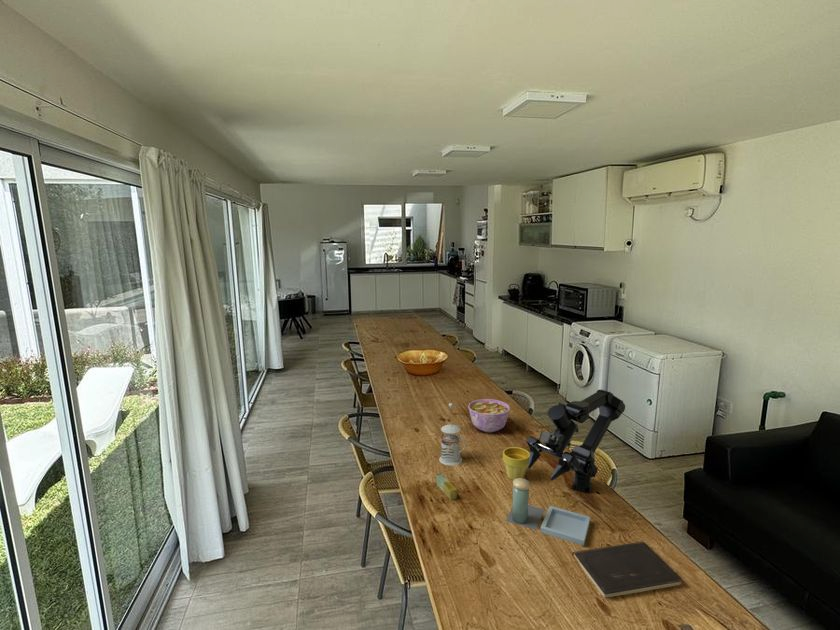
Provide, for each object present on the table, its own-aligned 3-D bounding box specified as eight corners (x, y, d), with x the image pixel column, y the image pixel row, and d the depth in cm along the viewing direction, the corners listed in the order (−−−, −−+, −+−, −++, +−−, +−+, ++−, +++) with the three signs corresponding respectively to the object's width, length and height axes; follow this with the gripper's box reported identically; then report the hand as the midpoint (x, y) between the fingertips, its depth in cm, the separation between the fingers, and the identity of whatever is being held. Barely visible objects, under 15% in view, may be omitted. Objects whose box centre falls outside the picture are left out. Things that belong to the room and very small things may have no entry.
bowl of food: (465, 435, 207) (465, 412, 205) (470, 418, 226) (470, 397, 224) (508, 440, 202) (509, 416, 200) (510, 422, 221) (510, 400, 219)
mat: (515, 502, 154) (515, 501, 154) (544, 510, 150) (544, 509, 150) (505, 521, 144) (505, 520, 144) (535, 531, 139) (535, 529, 139)
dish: (549, 511, 149) (549, 505, 149) (589, 522, 143) (590, 516, 143) (540, 533, 138) (540, 527, 138) (583, 546, 132) (584, 540, 132)
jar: (514, 512, 148) (515, 476, 146) (529, 517, 146) (531, 480, 143) (509, 521, 144) (511, 484, 141) (525, 526, 141) (527, 488, 139)
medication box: (435, 484, 167) (435, 474, 166) (441, 482, 168) (441, 472, 167) (450, 501, 156) (450, 490, 155) (457, 498, 157) (457, 488, 156)
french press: (445, 452, 191) (445, 397, 187) (470, 458, 185) (470, 402, 181) (434, 461, 183) (434, 405, 179) (459, 469, 177) (460, 410, 173)
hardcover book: (682, 587, 117) (683, 580, 117) (604, 601, 113) (604, 593, 113) (641, 546, 133) (642, 540, 132) (572, 557, 129) (572, 550, 128)
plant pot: (529, 471, 175) (530, 448, 173) (528, 485, 165) (529, 461, 163) (503, 467, 178) (504, 445, 176) (501, 481, 168) (501, 457, 166)
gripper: (531, 413, 154) (507, 450, 149) (578, 432, 139) (554, 473, 134) (543, 430, 160) (521, 466, 155) (589, 450, 145) (567, 490, 140)
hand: (539, 473), depth 146 cm, fingers open, 9 cm apart
